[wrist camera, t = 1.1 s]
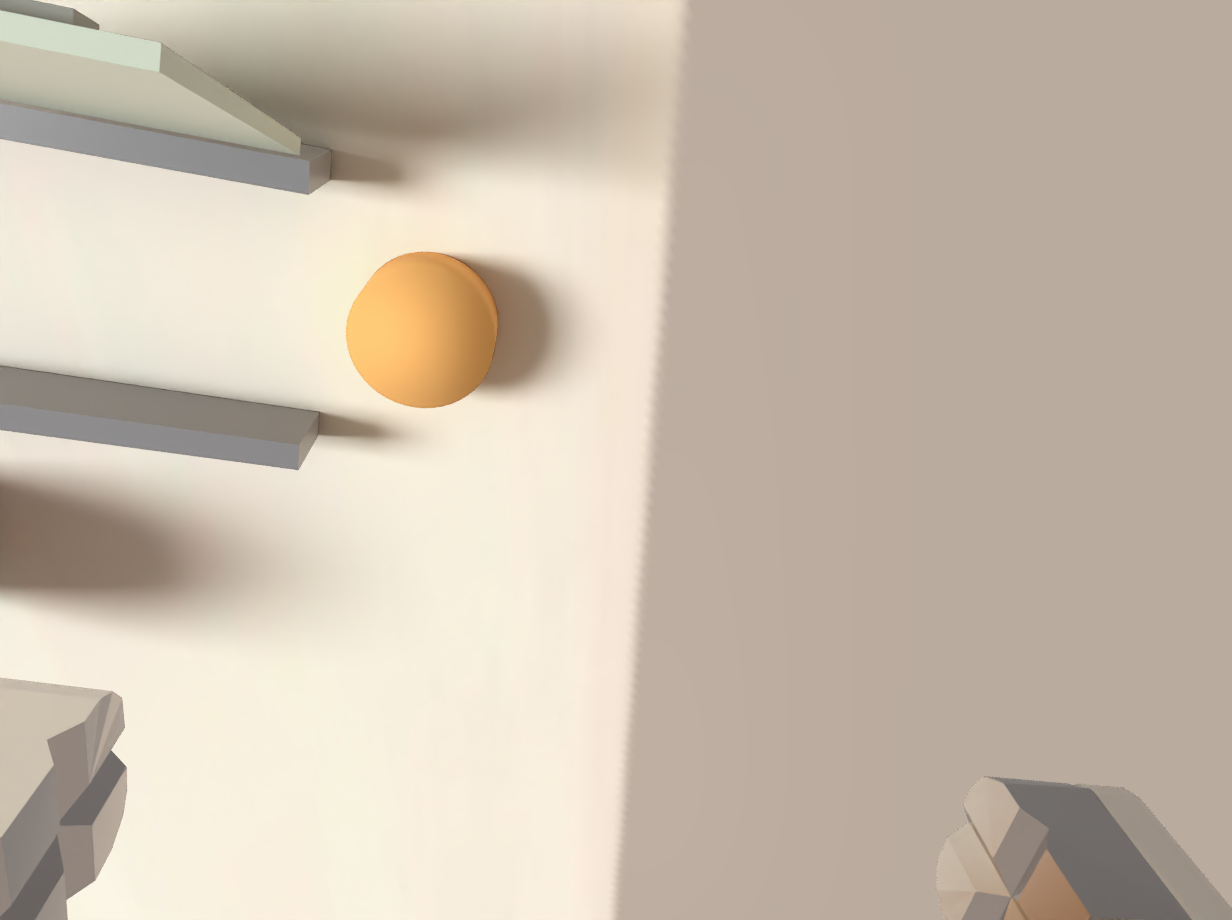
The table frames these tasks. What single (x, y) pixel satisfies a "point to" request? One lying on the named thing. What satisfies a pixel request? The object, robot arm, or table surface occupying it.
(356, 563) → the table surface
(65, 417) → the panel
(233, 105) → the panel
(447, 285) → the orange rounded dome
